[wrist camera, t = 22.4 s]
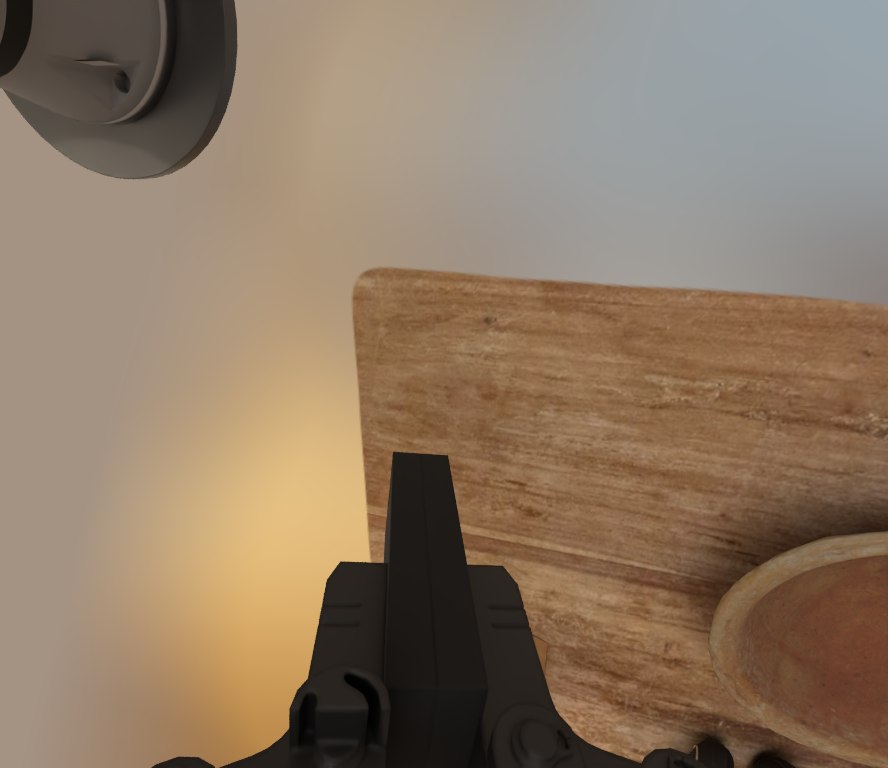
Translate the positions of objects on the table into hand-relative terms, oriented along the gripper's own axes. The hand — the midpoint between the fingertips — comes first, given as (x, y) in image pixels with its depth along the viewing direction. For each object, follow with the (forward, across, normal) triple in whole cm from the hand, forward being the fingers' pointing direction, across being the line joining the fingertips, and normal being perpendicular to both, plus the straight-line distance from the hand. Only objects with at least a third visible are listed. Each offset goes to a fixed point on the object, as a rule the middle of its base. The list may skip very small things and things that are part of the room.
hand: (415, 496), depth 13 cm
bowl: (+15, +38, -17) cm, 44 cm away
